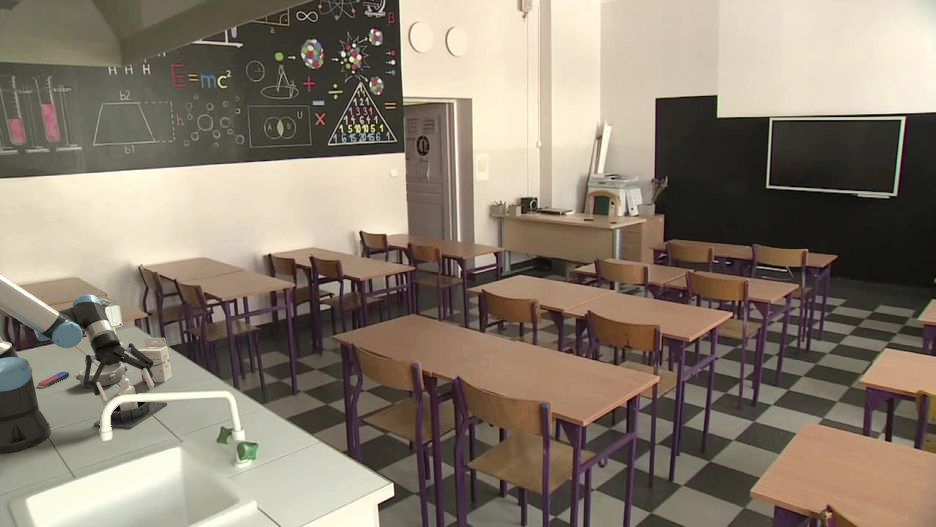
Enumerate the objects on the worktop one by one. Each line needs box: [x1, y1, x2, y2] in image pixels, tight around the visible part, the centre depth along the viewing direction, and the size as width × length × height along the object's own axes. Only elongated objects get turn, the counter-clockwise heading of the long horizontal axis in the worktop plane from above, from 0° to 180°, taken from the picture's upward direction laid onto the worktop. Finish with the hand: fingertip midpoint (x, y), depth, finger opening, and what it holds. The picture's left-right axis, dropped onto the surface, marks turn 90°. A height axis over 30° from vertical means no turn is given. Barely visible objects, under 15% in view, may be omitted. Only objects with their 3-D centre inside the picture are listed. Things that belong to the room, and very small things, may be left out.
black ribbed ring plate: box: [93, 401, 168, 429], centre depth 201 cm, size 16×13×3 cm
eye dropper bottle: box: [117, 375, 138, 412], centre depth 200 cm, size 4×6×12 cm
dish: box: [74, 362, 129, 387], centre depth 230 cm, size 14×14×5 cm
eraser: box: [37, 371, 70, 389], centre depth 232 cm, size 11×4×2 cm, turn 165°
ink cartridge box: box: [138, 337, 173, 383], centre depth 228 cm, size 9×5×15 cm, turn 84°
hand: (129, 395), depth 198 cm, fingers open, 13 cm apart
